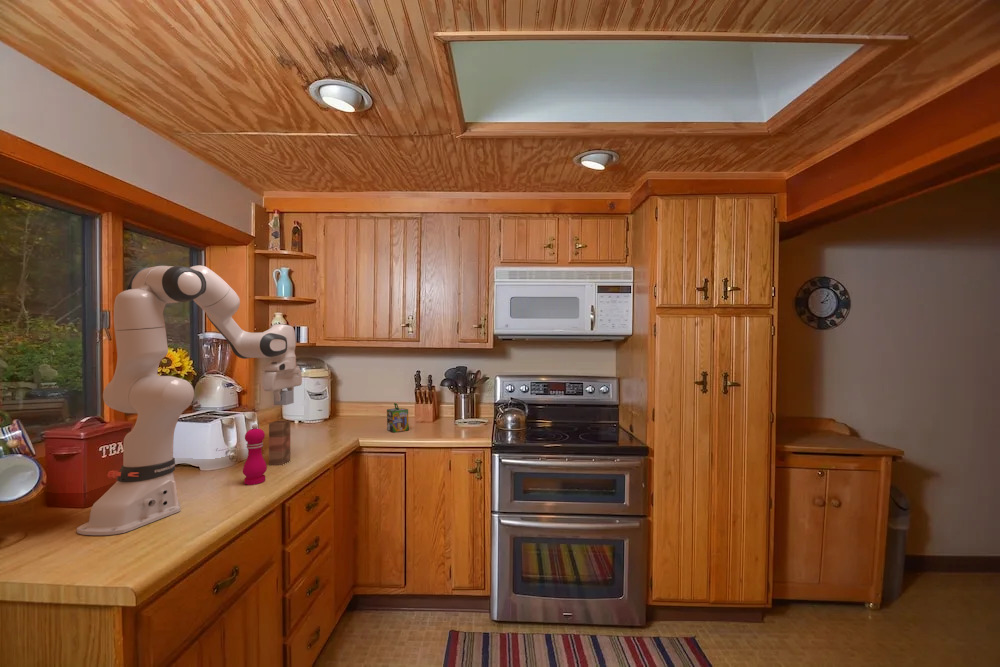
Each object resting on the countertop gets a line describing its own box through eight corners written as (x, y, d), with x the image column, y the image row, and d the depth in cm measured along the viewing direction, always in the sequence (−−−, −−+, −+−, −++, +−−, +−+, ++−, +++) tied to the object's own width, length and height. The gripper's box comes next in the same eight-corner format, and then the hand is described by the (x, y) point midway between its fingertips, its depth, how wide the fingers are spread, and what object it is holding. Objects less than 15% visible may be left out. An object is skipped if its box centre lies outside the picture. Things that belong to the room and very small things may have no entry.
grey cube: (286, 405, 164) (286, 392, 164) (274, 404, 165) (273, 392, 165) (293, 403, 169) (293, 390, 169) (281, 402, 170) (281, 390, 170)
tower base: (282, 465, 165) (282, 451, 166) (268, 465, 166) (268, 451, 166) (290, 461, 171) (290, 447, 171) (277, 461, 171) (277, 447, 171)
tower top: (282, 437, 166) (282, 423, 166) (268, 437, 166) (269, 423, 166) (290, 434, 171) (290, 420, 171) (277, 434, 172) (277, 420, 172)
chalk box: (409, 430, 228) (408, 403, 228) (392, 433, 222) (392, 404, 223) (402, 427, 235) (402, 401, 235) (386, 430, 230) (386, 402, 230)
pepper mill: (239, 482, 146) (239, 424, 146) (262, 477, 151) (262, 421, 151) (246, 487, 141) (246, 427, 141) (269, 481, 146) (269, 423, 147)
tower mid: (282, 451, 166) (282, 437, 166) (268, 451, 166) (268, 437, 166) (290, 447, 171) (290, 434, 171) (277, 447, 171) (277, 434, 172)
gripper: (291, 363, 178) (291, 396, 178) (259, 366, 157) (259, 403, 157) (305, 363, 177) (306, 396, 177) (274, 366, 157) (275, 403, 157)
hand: (283, 399), depth 167 cm, fingers closed on grey cube, 5 cm apart
